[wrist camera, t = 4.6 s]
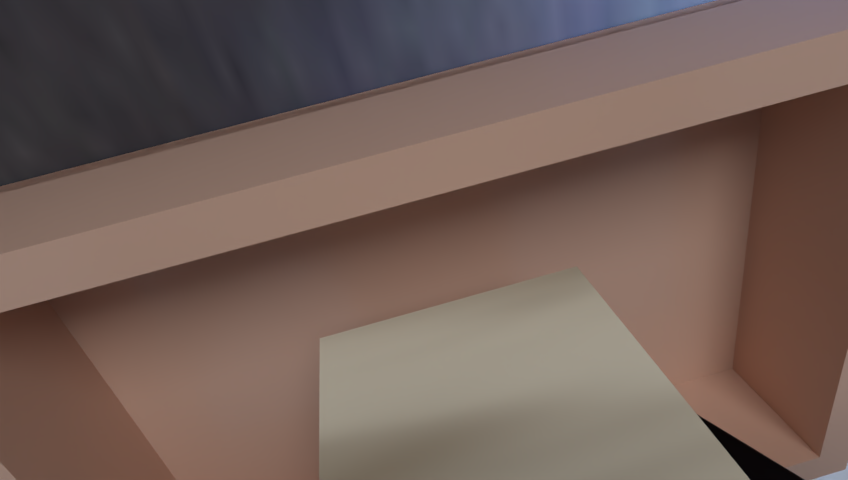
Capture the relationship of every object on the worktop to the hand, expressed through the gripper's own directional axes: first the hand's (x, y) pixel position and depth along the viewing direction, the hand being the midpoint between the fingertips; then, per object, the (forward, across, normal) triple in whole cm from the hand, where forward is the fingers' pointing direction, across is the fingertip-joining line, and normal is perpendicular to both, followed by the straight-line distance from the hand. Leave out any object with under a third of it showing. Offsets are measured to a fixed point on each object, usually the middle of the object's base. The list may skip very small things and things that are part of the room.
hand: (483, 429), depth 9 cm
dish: (+4, 0, 0) cm, 4 cm away
